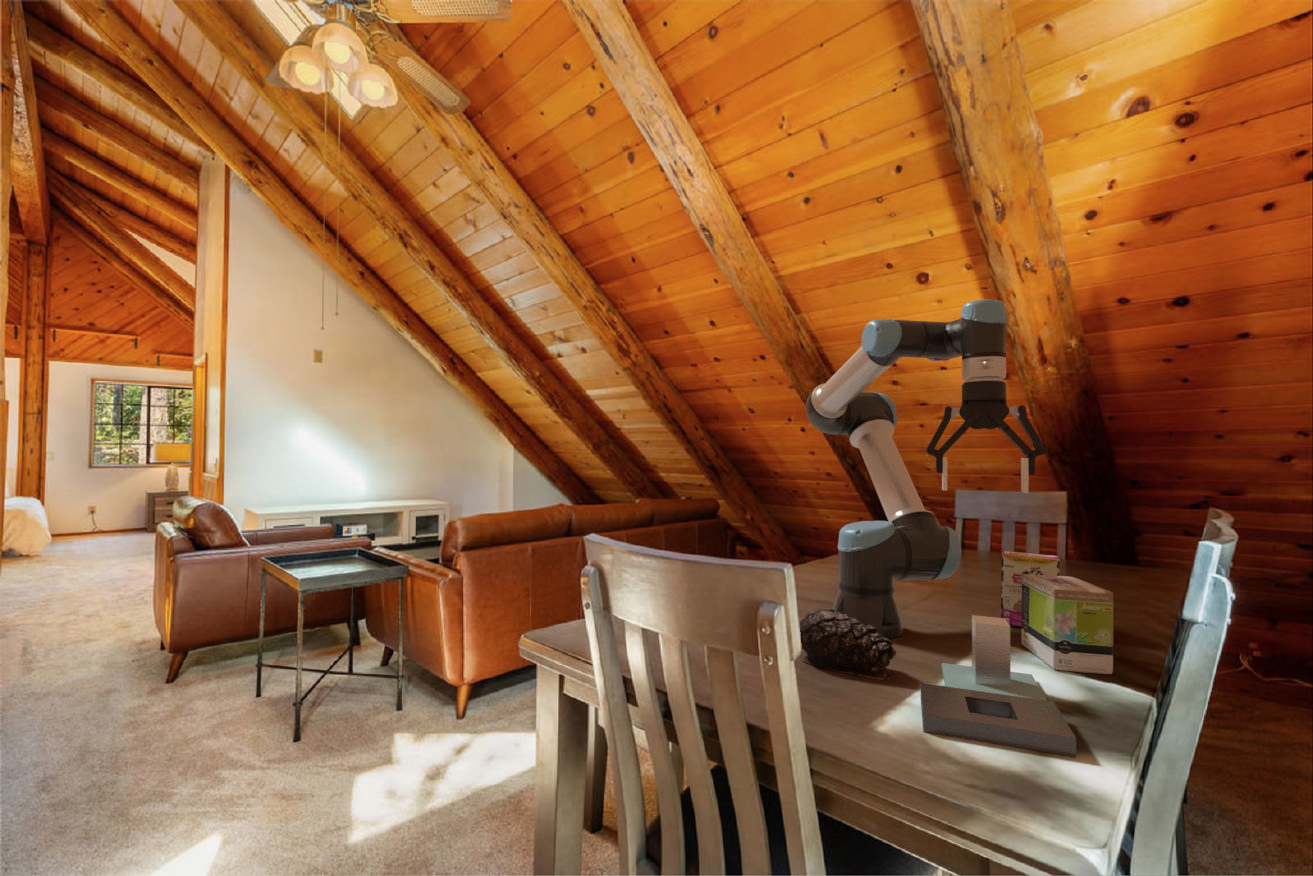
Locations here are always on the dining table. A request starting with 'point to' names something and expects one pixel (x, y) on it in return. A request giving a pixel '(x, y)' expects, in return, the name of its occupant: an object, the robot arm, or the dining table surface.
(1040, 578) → the tea box
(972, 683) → the pad
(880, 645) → the pine cone
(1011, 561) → the candy bar box
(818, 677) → the dining table surface
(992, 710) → the grey slotted board
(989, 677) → the pale wooden block
